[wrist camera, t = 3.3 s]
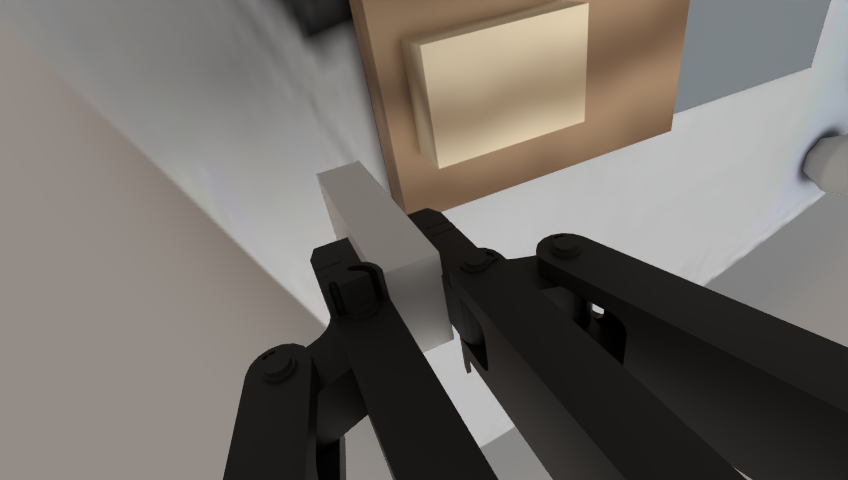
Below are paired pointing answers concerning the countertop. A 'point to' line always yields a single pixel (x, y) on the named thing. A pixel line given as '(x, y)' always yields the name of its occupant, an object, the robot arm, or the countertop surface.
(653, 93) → the board
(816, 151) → the salt shaker
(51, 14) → the countertop surface
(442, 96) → the beech block
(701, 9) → the slate mat
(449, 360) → the countertop surface
